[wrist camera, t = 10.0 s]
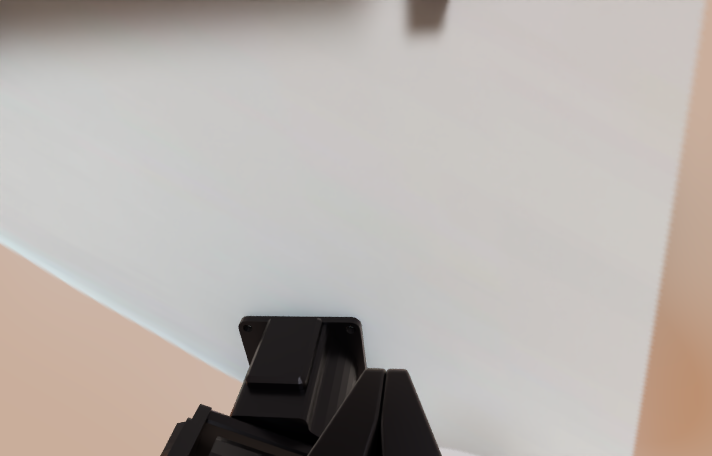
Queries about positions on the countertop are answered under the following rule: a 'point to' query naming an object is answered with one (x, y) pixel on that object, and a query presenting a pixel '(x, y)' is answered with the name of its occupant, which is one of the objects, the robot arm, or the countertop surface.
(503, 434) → the countertop surface
